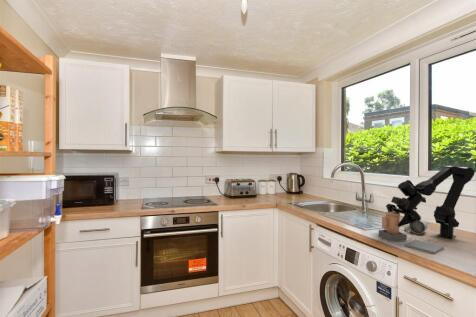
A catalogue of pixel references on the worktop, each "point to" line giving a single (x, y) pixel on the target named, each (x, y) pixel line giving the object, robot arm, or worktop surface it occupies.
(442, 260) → the worktop surface
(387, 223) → the peach rounded cylinder
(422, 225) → the ceramic mug
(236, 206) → the worktop surface
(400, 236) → the holder
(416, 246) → the mat
